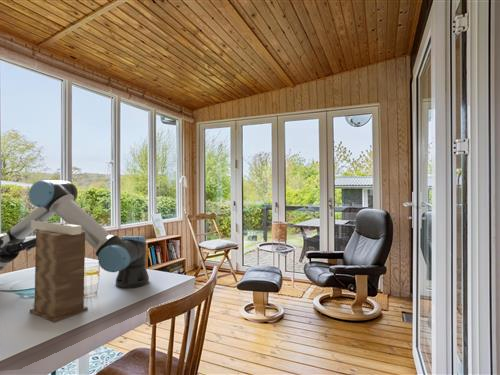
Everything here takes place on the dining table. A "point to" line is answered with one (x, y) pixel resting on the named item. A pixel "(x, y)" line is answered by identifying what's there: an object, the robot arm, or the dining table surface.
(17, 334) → the dining table surface
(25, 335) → the dining table surface
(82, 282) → the walnut post
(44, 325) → the dining table surface
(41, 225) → the domino bar
